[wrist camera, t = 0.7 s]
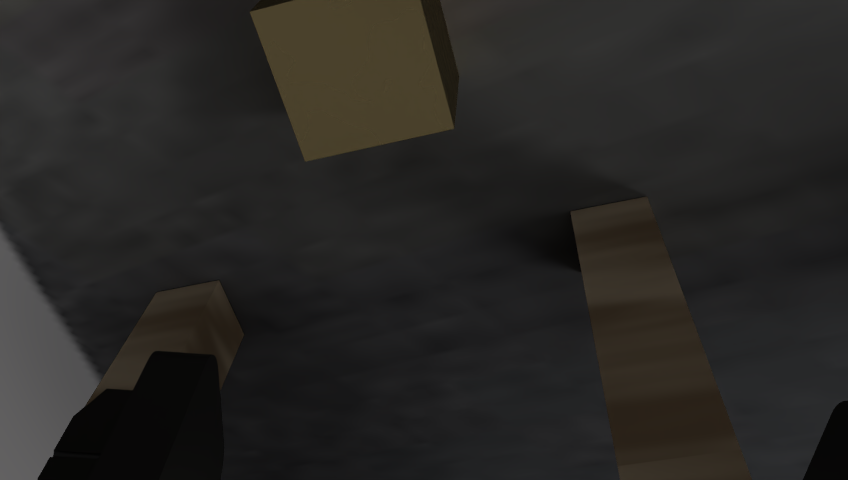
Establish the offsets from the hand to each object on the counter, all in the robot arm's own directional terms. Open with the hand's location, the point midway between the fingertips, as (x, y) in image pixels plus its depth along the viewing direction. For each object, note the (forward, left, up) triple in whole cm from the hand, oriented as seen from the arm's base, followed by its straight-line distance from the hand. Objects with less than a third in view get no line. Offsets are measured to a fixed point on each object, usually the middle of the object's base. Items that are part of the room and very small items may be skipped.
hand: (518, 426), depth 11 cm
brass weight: (+4, +3, -21) cm, 21 cm away
